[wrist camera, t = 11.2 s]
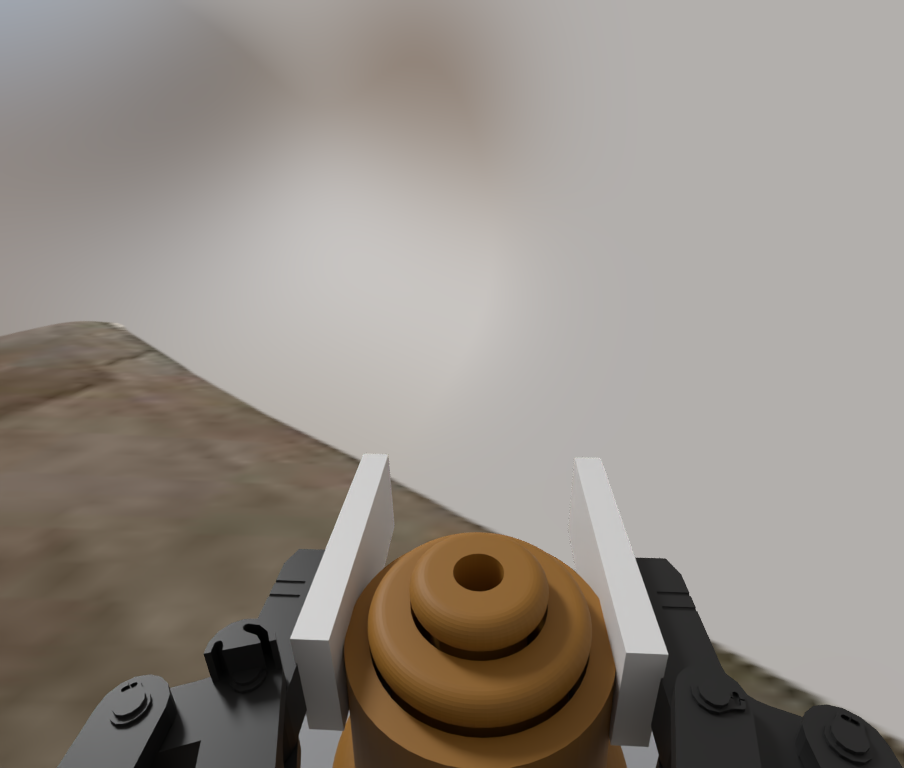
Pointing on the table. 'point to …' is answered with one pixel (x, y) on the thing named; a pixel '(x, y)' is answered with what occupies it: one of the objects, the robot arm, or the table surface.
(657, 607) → the robot arm
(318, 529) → the table surface
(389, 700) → the ornamental finial
